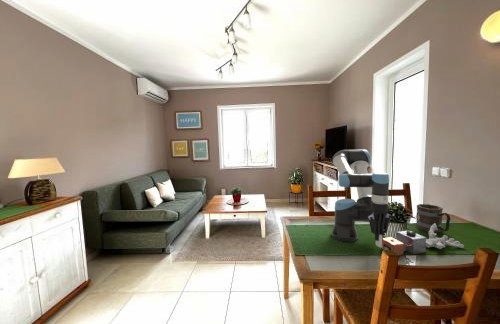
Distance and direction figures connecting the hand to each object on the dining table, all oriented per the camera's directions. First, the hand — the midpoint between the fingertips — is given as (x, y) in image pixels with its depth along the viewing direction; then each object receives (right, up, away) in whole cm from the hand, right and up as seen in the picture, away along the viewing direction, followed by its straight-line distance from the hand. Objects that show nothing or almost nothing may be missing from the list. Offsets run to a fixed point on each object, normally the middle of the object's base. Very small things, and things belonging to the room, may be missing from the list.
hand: (378, 246), depth 115 cm
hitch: (+15, -3, +3) cm, 15 cm away
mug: (+52, -1, +28) cm, 59 cm away
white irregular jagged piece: (+39, -3, +9) cm, 40 cm away
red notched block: (+8, -4, +2) cm, 9 cm away
